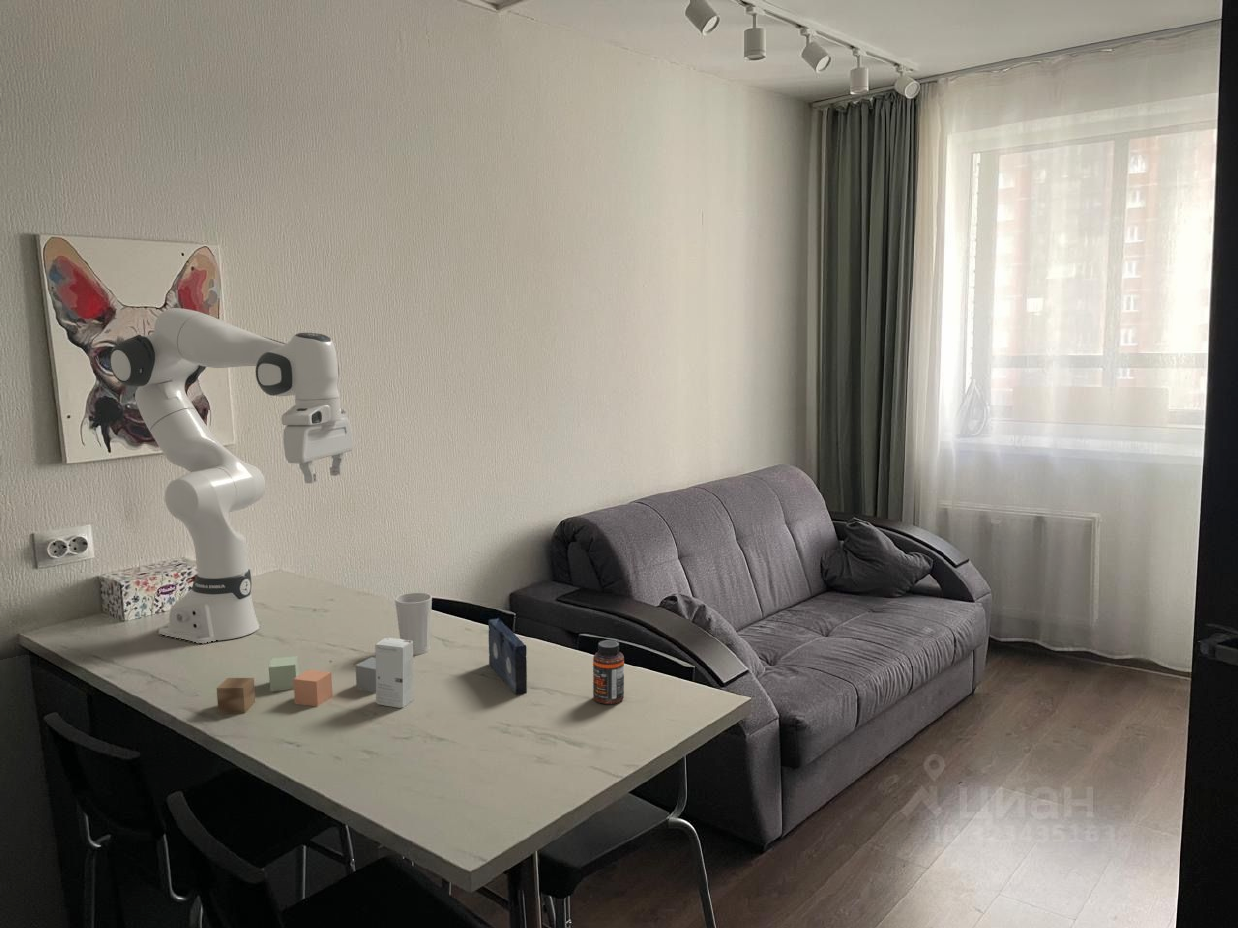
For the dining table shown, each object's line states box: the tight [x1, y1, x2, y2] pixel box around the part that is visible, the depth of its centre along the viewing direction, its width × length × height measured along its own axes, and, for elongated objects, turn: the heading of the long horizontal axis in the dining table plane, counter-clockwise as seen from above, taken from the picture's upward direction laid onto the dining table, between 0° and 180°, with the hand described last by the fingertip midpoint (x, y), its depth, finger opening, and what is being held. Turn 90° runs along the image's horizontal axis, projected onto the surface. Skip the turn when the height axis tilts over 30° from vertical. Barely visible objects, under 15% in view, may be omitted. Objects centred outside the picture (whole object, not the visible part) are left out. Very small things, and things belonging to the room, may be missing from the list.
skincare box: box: [374, 637, 414, 709], centre depth 180 cm, size 6×4×12 cm
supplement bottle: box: [592, 639, 625, 705], centre depth 181 cm, size 6×6×11 cm
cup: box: [394, 592, 433, 656], centre depth 208 cm, size 8×8×12 cm
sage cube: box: [268, 655, 299, 692], centre depth 189 cm, size 5×5×5 cm
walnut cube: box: [216, 677, 256, 714], centre depth 179 cm, size 5×5×5 cm
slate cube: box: [355, 656, 376, 694], centre depth 188 cm, size 5×5×5 cm
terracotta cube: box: [293, 669, 333, 707], centre depth 182 cm, size 5×5×5 cm
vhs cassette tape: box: [488, 617, 528, 696], centre depth 192 cm, size 18×3×10 cm, turn 23°
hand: (323, 478), depth 196 cm, fingers open, 8 cm apart
